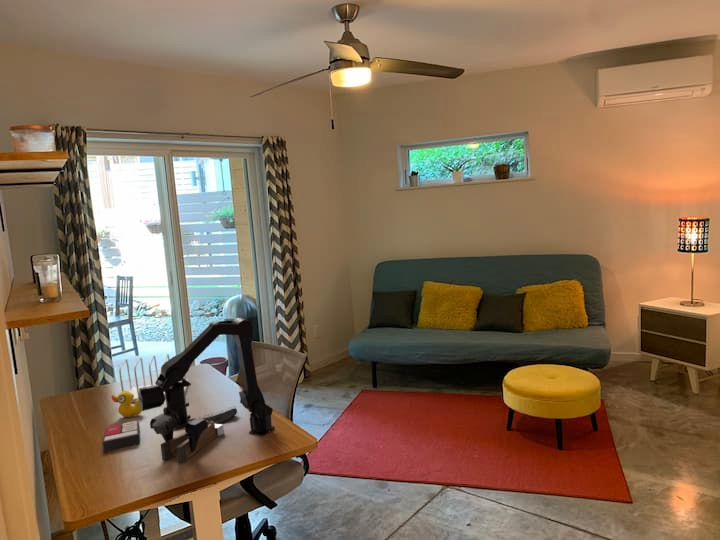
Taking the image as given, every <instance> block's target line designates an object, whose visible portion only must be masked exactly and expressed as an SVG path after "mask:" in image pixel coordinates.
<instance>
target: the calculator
mask: <svg viewBox="0 0 720 540" xmlns="http://www.w3.org/2000/svg"><path fill="white" fill-rule="evenodd" d="M140 433H141V428H140V422H139V421H138V420H134V421H128V422H125V423H122V424H121V423H119V424H114V425H110V426H106V428H104V434H103V440H102V446H103V453H106V452H111V451H115V450H121V449H124V448H129V447H134V445H135V446H139V445H140V444H141V434H140Z"/></svg>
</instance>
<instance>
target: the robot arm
mask: <svg viewBox="0 0 720 540" xmlns="http://www.w3.org/2000/svg"><path fill="white" fill-rule="evenodd" d="M223 335H224V336H225V335H226V336H232V338H233V340H234V342H235V344H236V346H237V351H238V352H237V353H238V356H239V357H238V358H239V363H240V369H241V374H242V375H241V376H242V382H243V388H242V390H241V391H238V395H239V398H240V400H239V401H240V402H239V403H240V404H241V405H242V406H243V407H244V408H245V409H246V410H248V412H249V413H250V414H249V416H250V417H249V426H250V430H249V431H248V434H252V435H259V436H265V434H266V435H267V434H268V433H269V431H270V432H271V431H273V430H274V429H275V426H274V425H272V424H273V423H272V414H273V408H272V407H271V406H269V405H267V404H266V399H265V398H264V395H263V394H264V393H263V392H262V390H261V388H260V387H259V386H260V385H258V384H259V383H258V378H257V371H256V366H255V359H254V354H253V347H252V343H253V339H254V325H253V322H251V321H250V320H248V319H245V318H243V317H236V318H233V319H232V320H231V319H230V320H220V321H215V320H213V321H211V322H210V323H209V324H208V326H207V327H206V328H205V329H204V330H203V331H202V332H201V333H199V335H198V336H196V338H195V339H193V341H192V342H191V343H189V345H187V347H186V348H185V349H184V350H183V351H182V352H180V353H179V354H176V355H174V356H172V357H171V358H169V359H170V360H168V359H167V360H166V362H165V363H164V362H163V364H162V366H161V368H160V374H158V379H157V378H156V380H155V382H154V384H156V385H153V386H149V387H142V388H139V397H138V400H139V405H140V409H141V411H142V412H144V411H148V410H152V409H156V408H159V407H160V408H161V407H162V405H164V404H165V403H166V406H165V407H163V410H162V413H161V414H159V415H157V416H155V417H153V418H151V420H150V422H149V427H150V429H153V431H154V432H155V434H156V435H161V436H162V439H163V440H164V442H166V441H169V440H171V439H173V438H174V430H175V428H176V427H178V428H183V429H184V430H185V431H184V433H185V432H186V433H187V434H185V435H186V436H187V437H188V438H189V443H190V449H191V452H194V451H195V449H196V446H197V443H198V440H199V437H200V435H201V433H202V431H204V430H205V429H206V428H208V423H207V420H205V419H201V418H200V417H198V418H197V417H195V418H196V419H194V418H193V419H194V420H192V421H191V422H188V419H192V418H191V415H190V414H188V409H187V407H189V406H190V402H187V399H186V394H185V390H184V387H186V386H187V387H189V386H191V384H192V383H191V382H189V380H188V381H187V380H186V379H187V378H186V379H185V378H184V376H185V375H187V373H188V371H189V370H190V368H191V365H192V364H193V362H194V361H195V360H196V359H198V357H199V356H201V354H202V353H203V352H204V351H205V350H206V349H207V348H208V347H209V346H210V345H211V344H212V343H213V342H214V341H215V340H216V339H217V338H218V337H219V336H223ZM164 392H165V396H164ZM165 397H166V398H165ZM199 418H200V419H199ZM176 429H177V428H176Z"/></svg>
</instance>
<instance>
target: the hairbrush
mask: <svg viewBox="0 0 720 540" xmlns="http://www.w3.org/2000/svg"><path fill="white" fill-rule="evenodd" d="M220 411H221V412H220V413H217V414H214V412H213V413H212V414H211V415H210V414H208V415H205V414H204V415H203V416H202V417H198V418H199V419H205V420H208V422H209V423H210V422H211V421H213V422H214V423H215V424H225V423H228V422H229V421H231V420H232V419H233V418H234V417H235V416H236V415H237V413H238V409H237V408H236V406H233V408H230V409H228V410H225V411H224V410H220ZM196 418H197V417H195V418H194V417H193V418H190V419H188V422H191V421H192V420H194V419H196ZM178 428H179V427H176V428H175V429H178ZM175 429H174V430H175Z"/></svg>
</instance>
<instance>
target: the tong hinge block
mask: <svg viewBox="0 0 720 540" xmlns="http://www.w3.org/2000/svg"><path fill="white" fill-rule="evenodd" d="M214 424H215V423H214ZM224 431H225V430H224V423H222V424H215V433H216V437H215V438H220V437H221V436H222V435H224V433H225V432H224Z"/></svg>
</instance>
